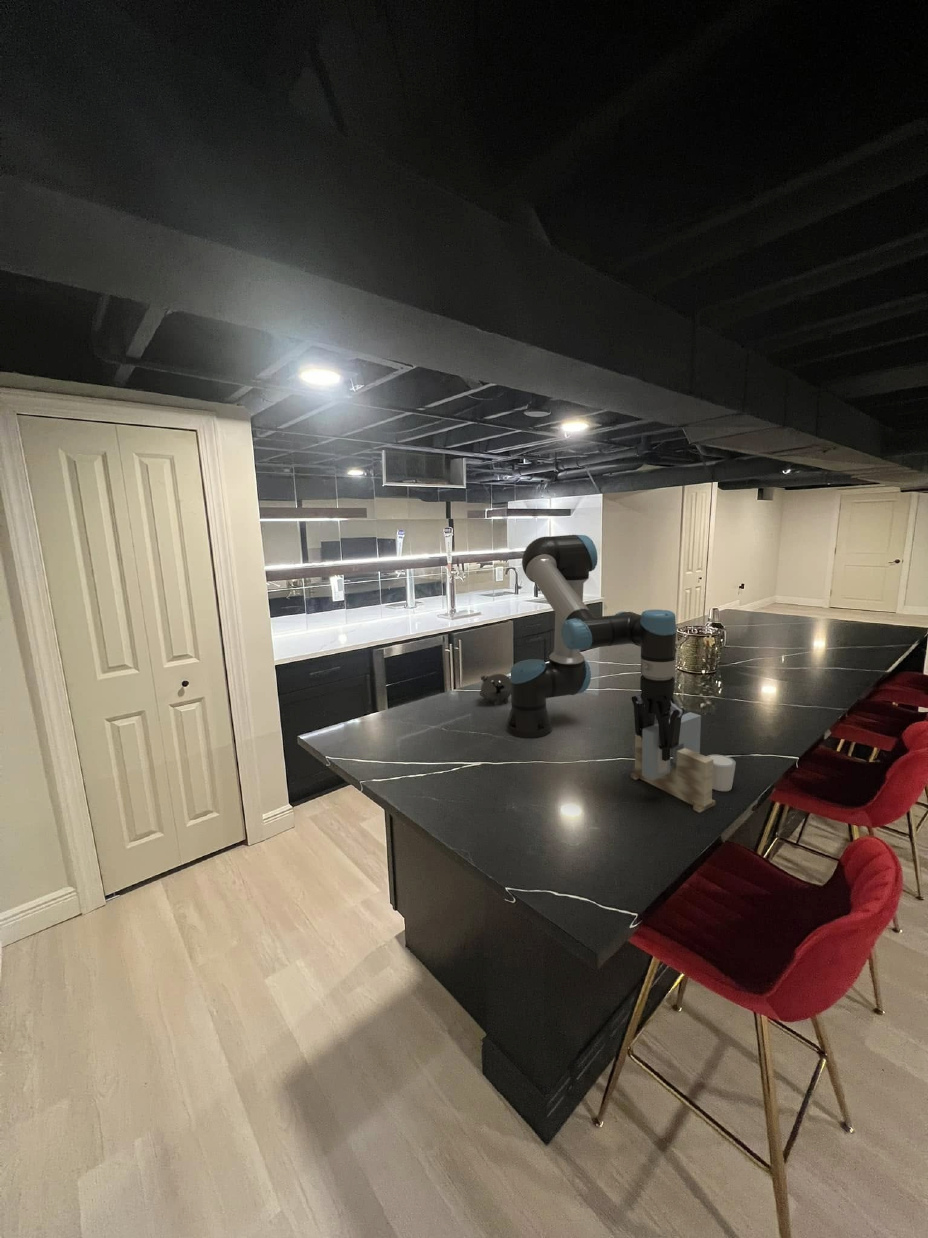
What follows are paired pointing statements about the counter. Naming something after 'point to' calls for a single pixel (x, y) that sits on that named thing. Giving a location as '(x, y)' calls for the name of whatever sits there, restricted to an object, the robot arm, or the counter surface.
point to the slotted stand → (683, 777)
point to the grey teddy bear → (496, 688)
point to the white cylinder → (722, 772)
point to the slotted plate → (686, 740)
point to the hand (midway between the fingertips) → (655, 768)
